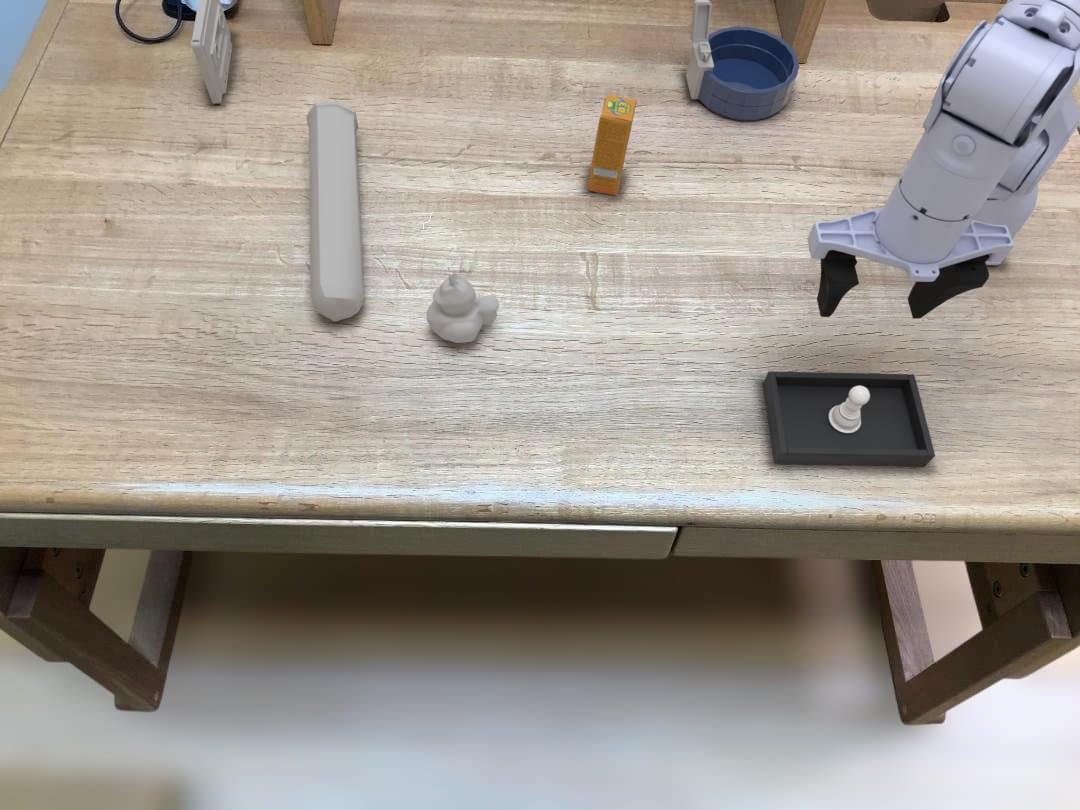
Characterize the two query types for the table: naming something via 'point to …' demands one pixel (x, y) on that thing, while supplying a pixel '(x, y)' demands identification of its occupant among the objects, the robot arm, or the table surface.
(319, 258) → the tube
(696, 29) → the lighter
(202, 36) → the cassette
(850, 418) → the chess pawn
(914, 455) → the tray
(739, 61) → the bowl
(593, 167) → the supplement box
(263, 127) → the table surface
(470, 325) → the rubber duck
